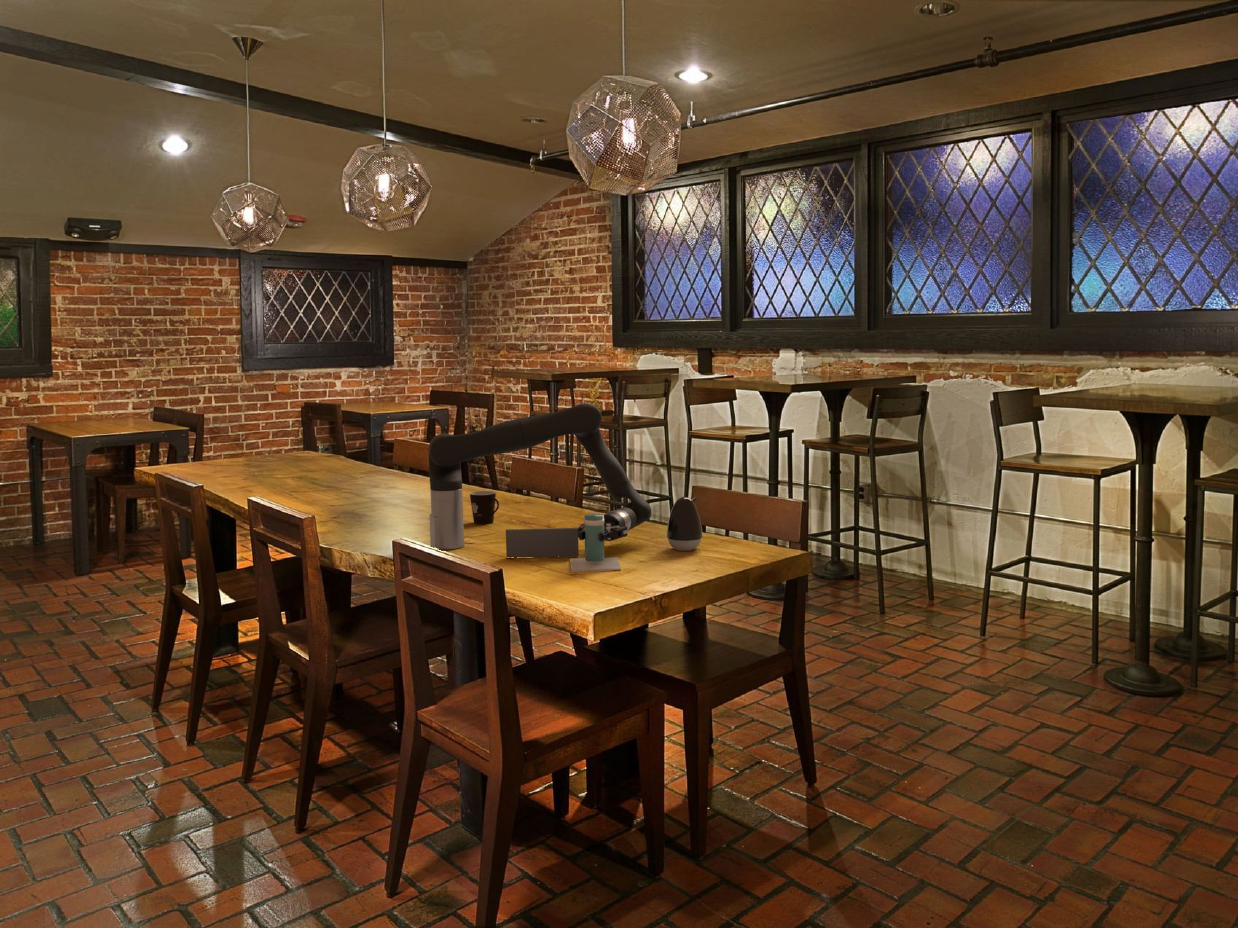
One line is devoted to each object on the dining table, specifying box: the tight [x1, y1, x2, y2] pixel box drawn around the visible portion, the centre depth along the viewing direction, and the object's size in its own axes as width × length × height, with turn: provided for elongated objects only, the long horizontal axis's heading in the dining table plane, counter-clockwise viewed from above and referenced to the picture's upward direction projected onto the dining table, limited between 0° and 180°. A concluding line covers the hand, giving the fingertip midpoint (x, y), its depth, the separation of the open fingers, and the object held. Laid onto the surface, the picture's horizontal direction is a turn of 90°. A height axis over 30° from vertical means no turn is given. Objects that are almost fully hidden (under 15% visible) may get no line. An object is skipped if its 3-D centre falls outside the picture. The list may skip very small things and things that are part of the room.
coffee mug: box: [469, 490, 500, 526], centre depth 327 cm, size 12×9×10 cm
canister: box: [583, 512, 606, 562], centre depth 265 cm, size 5×5×12 cm
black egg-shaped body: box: [666, 496, 703, 552], centre depth 284 cm, size 10×10×15 cm
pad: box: [569, 557, 622, 573], centre depth 266 cm, size 13×13×1 cm
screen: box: [505, 527, 580, 558], centre depth 276 cm, size 20×2×8 cm, turn 94°
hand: (590, 536), depth 262 cm, fingers closed on canister, 5 cm apart
